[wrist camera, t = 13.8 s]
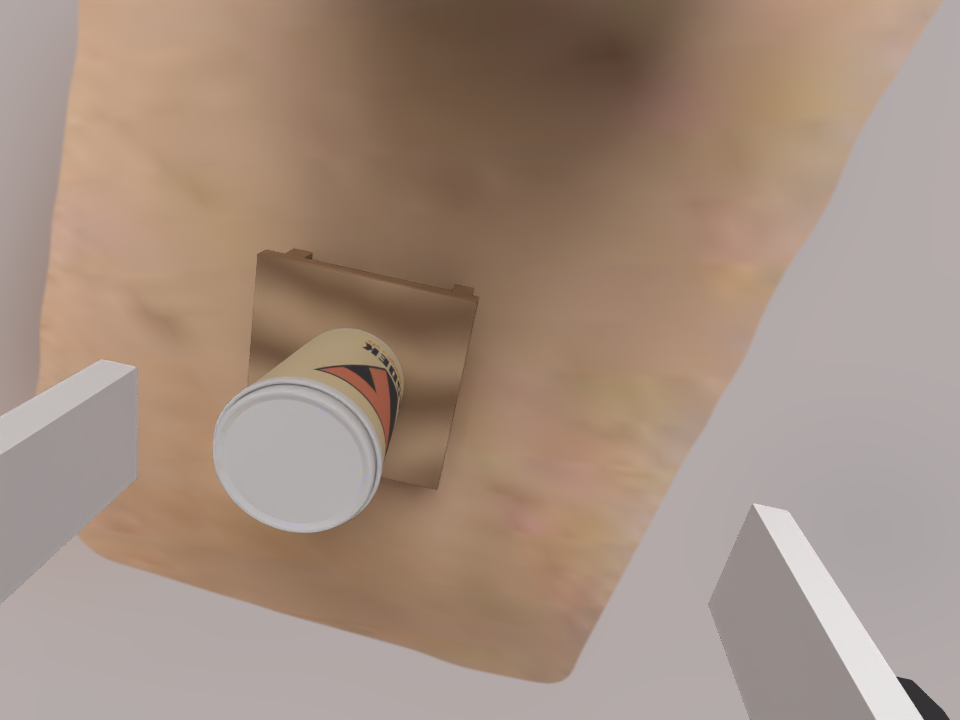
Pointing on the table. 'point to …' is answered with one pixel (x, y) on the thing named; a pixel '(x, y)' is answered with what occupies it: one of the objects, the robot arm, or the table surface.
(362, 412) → the coffee cup
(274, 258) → the footstool
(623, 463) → the table surface
